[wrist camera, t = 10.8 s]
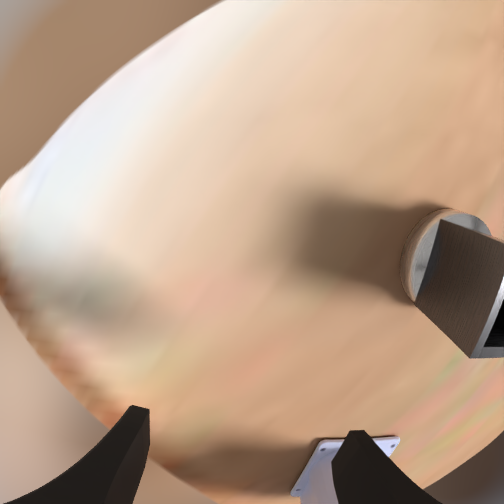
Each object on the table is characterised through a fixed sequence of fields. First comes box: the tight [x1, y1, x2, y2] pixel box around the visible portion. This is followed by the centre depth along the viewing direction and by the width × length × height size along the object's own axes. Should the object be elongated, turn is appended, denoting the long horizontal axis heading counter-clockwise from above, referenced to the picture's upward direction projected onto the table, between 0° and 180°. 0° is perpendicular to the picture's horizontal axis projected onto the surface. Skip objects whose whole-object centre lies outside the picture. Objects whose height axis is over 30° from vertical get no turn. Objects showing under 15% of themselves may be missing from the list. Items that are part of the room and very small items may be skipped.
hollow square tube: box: [414, 219, 504, 358], centre depth 13 cm, size 5×5×6 cm
